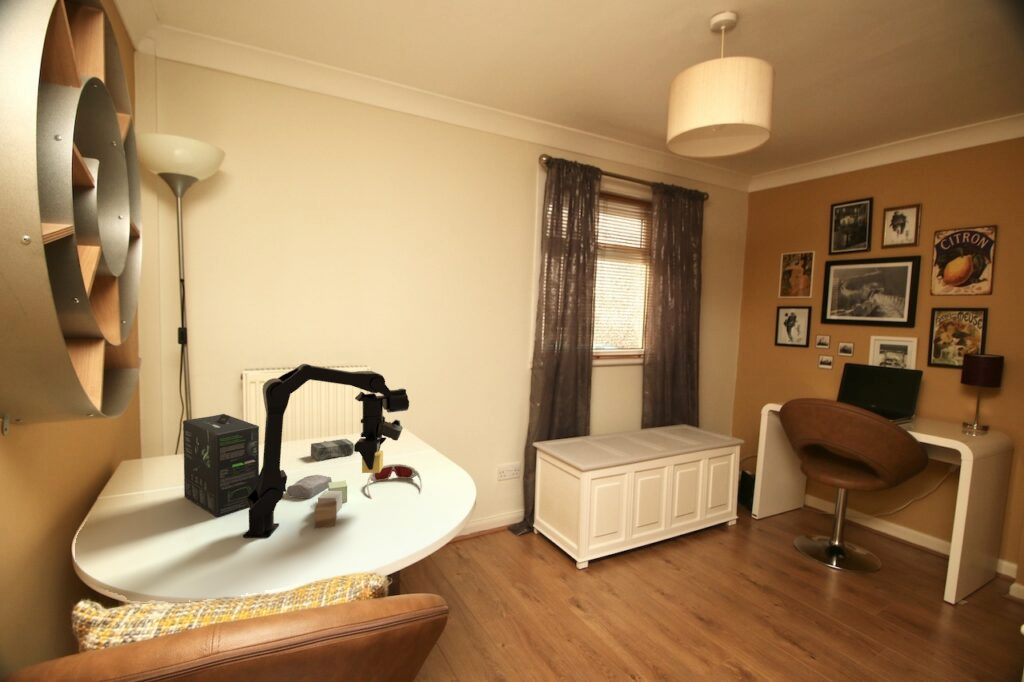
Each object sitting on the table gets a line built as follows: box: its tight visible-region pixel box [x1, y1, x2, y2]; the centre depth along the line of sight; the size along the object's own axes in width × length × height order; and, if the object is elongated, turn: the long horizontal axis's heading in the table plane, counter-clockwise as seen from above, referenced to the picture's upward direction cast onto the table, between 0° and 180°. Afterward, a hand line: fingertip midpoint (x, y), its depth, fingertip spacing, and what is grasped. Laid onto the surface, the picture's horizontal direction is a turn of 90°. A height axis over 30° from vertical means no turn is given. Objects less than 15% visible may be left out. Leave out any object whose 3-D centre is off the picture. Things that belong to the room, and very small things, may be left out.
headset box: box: [182, 413, 260, 518], centre depth 135 cm, size 22×12×26 cm, turn 56°
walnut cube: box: [314, 501, 338, 529], centre depth 123 cm, size 5×5×5 cm
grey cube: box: [317, 490, 343, 514], centre depth 130 cm, size 5×5×5 cm
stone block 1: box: [286, 474, 333, 499], centre depth 145 cm, size 12×5×10 cm
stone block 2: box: [310, 438, 355, 462], centre depth 179 cm, size 9×14×5 cm, turn 132°
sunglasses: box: [366, 463, 423, 500], centre depth 150 cm, size 17×17×5 cm
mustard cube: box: [361, 450, 384, 474], centre depth 134 cm, size 5×5×5 cm
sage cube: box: [327, 480, 348, 504], centre depth 138 cm, size 5×5×5 cm
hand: (372, 466), depth 134 cm, fingers closed on mustard cube, 5 cm apart
